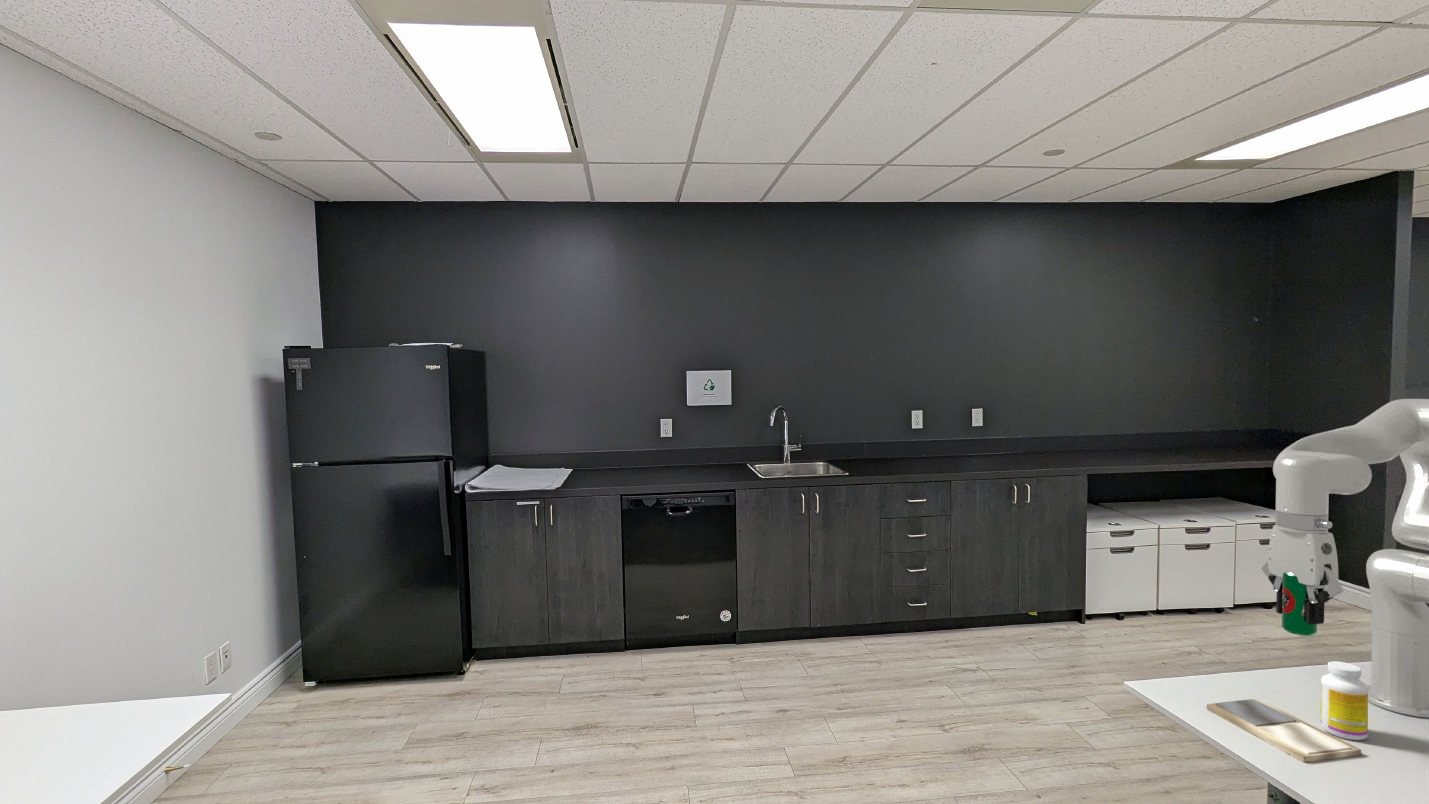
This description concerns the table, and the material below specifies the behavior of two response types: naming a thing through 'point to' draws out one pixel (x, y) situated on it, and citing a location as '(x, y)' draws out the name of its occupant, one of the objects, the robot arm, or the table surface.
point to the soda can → (1295, 606)
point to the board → (1283, 730)
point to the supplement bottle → (1344, 702)
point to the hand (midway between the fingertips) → (1299, 617)
